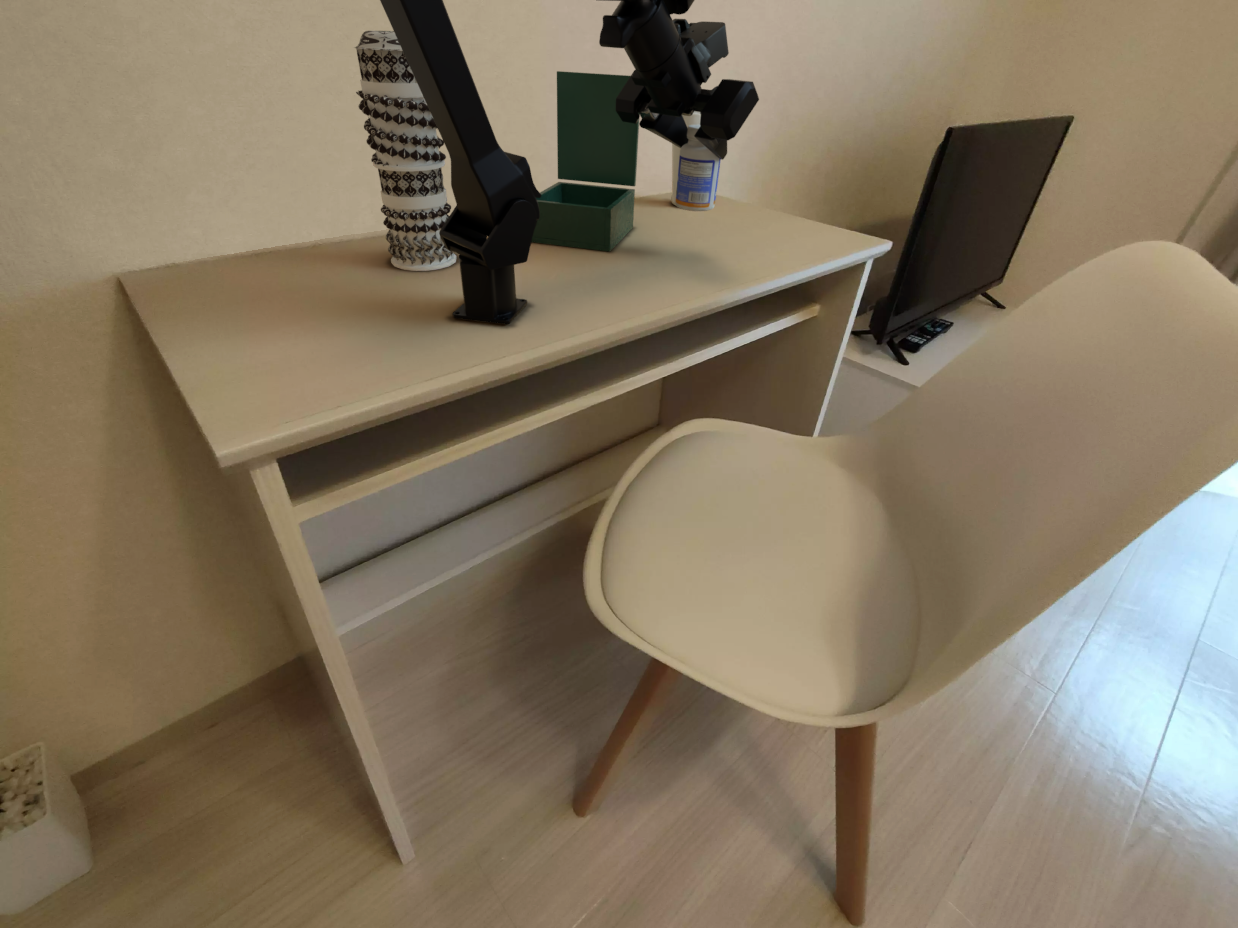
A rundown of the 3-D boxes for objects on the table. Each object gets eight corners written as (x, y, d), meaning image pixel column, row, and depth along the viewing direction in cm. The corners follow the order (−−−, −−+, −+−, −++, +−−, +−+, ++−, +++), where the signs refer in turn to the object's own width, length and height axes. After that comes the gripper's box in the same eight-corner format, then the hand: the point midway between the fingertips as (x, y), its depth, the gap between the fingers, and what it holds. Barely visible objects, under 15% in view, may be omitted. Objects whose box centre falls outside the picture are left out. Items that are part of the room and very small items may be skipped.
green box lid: (640, 76, 86) (647, 76, 90) (556, 71, 89) (566, 71, 92) (634, 186, 94) (641, 182, 98) (557, 179, 97) (566, 175, 100)
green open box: (609, 251, 87) (610, 209, 84) (528, 241, 90) (525, 200, 86) (633, 227, 98) (634, 189, 95) (559, 219, 101) (558, 181, 97)
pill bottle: (688, 201, 86) (696, 122, 81) (721, 207, 84) (732, 127, 78) (667, 207, 83) (673, 125, 77) (701, 214, 80) (710, 130, 74)
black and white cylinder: (372, 264, 79) (324, 29, 65) (420, 246, 86) (387, 30, 72) (428, 276, 76) (391, 33, 62) (473, 257, 83) (449, 33, 69)
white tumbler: (660, 201, 113) (667, 109, 104) (691, 199, 116) (700, 108, 107) (678, 210, 108) (686, 114, 100) (710, 207, 111) (721, 113, 102)
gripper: (764, -11, 62) (801, 110, 75) (637, -11, 73) (688, 95, 85) (704, 81, 62) (751, 186, 75) (585, 67, 73) (644, 161, 85)
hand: (707, 153), depth 80 cm, fingers closed on pill bottle, 5 cm apart
